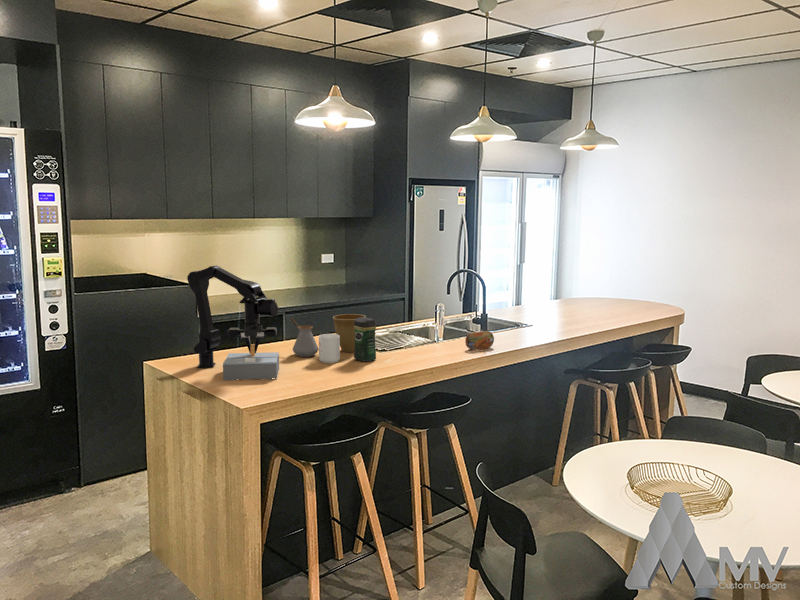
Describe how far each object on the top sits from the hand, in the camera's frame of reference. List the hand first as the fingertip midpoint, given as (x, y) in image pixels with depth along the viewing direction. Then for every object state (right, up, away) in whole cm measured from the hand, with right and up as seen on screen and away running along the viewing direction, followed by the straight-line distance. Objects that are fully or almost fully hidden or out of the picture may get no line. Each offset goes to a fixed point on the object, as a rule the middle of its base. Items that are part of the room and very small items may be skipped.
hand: (253, 353), depth 259 cm
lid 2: (+1, -3, -9) cm, 9 cm away
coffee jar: (+44, -5, +23) cm, 49 cm away
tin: (+96, -2, +47) cm, 107 cm away
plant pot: (+35, -2, +40) cm, 53 cm away
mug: (+28, -5, +21) cm, 35 cm away
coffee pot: (+14, -3, +34) cm, 37 cm away
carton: (+1, -8, -4) cm, 9 cm away
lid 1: (0, -1, 0) cm, 1 cm away
